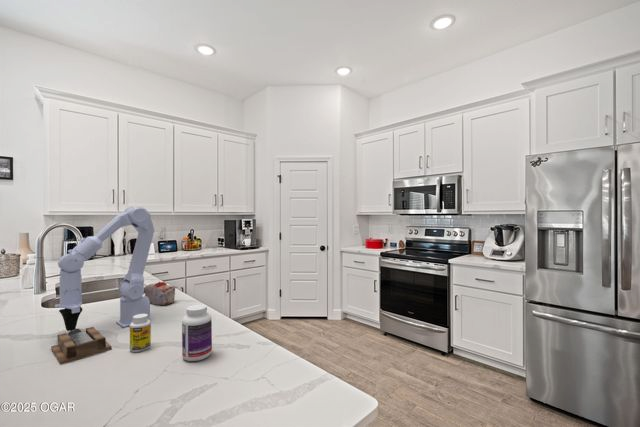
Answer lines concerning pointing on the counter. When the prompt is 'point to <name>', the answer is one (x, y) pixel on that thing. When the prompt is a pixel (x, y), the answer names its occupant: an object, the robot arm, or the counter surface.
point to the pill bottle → (196, 333)
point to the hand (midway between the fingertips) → (70, 329)
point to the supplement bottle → (140, 333)
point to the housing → (79, 347)
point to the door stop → (79, 336)
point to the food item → (160, 293)
